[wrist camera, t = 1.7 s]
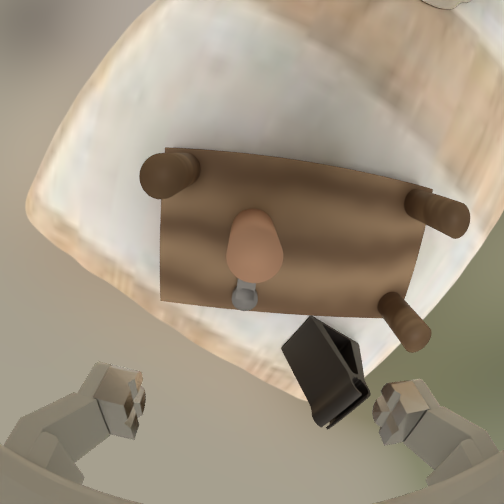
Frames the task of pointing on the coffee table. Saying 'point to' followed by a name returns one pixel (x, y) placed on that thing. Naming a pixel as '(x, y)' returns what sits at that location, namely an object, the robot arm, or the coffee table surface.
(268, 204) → the stool base
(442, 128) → the coffee table surface
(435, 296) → the coffee table surface
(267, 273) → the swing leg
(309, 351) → the phone stand
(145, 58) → the coffee table surface
